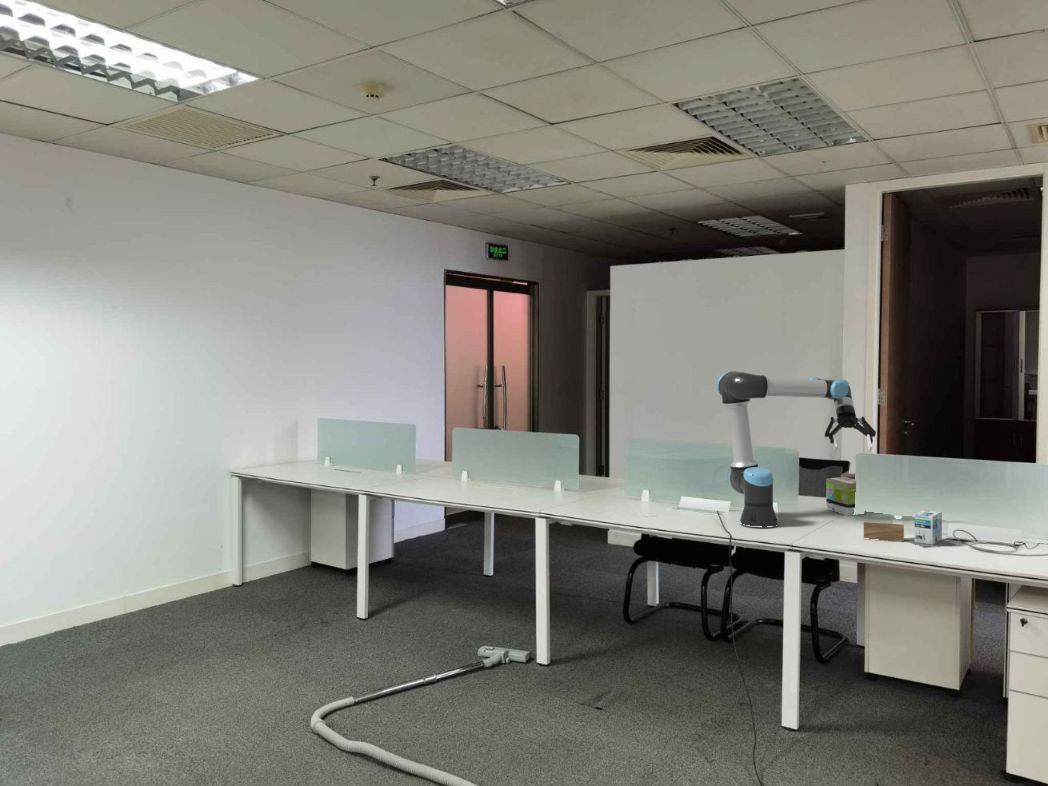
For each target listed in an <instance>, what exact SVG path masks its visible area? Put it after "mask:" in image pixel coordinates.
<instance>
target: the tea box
mask: <svg viewBox="0 0 1048 786" xmlns="http://www.w3.org/2000/svg"><path fill="white" fill-rule="evenodd" d="M825 485H826V486H825V487H826V489H825V495H826V496H825V497H826V501H825V503H826V504H825V506H826V510H827V511H831V512H835V513H837V512H838V514H841V515H844V516H846V515H847V517H850V516H851V515H853V514H854V508H855V492H856V480H855V479H851V478H846V477H841V476H840V477H832V478H831V477H830V478H828V477H827V478H826V479H825ZM853 516H854V515H853ZM851 517H852V516H851Z"/></svg>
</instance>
